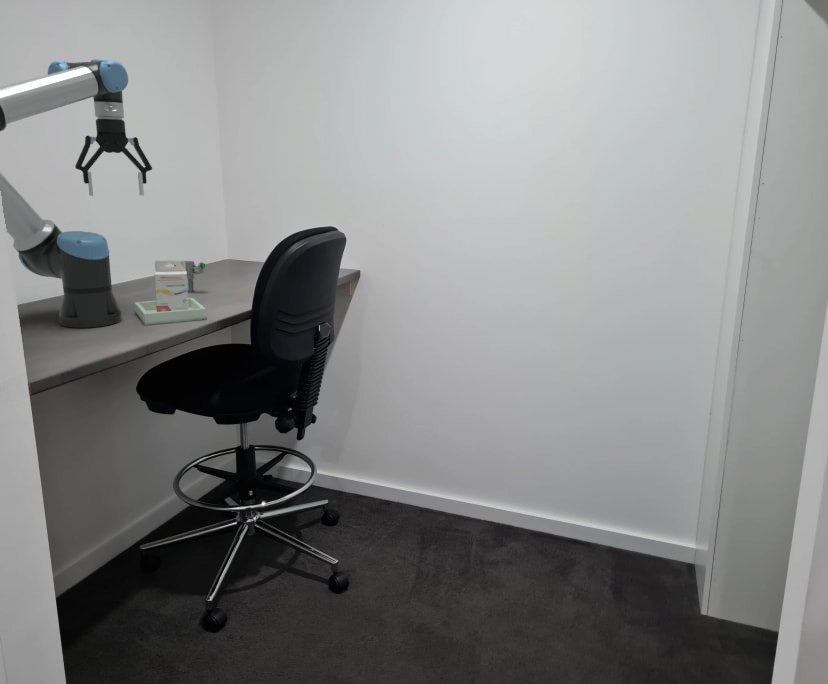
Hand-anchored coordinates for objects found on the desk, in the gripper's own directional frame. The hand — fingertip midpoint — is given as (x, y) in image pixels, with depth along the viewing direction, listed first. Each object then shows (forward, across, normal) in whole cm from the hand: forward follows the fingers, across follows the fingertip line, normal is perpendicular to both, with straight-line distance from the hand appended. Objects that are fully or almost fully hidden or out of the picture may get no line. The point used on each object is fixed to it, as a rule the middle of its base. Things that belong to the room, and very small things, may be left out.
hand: (117, 195), depth 195 cm
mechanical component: (+32, +21, +8) cm, 39 cm away
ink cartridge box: (+31, +9, -24) cm, 40 cm away
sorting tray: (+32, +8, -24) cm, 41 cm away
